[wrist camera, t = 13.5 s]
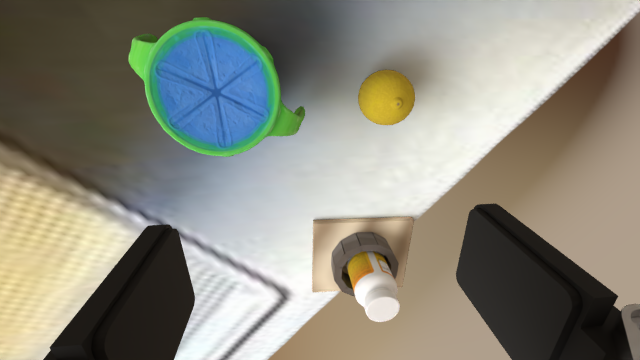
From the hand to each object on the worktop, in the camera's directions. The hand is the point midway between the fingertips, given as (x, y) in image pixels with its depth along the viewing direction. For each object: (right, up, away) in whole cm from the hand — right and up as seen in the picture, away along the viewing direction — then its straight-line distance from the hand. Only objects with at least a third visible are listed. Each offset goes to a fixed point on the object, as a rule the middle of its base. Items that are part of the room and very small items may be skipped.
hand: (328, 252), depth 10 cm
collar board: (+6, -9, +34) cm, 36 cm away
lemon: (+6, +13, +25) cm, 29 cm away
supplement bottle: (+6, -9, +33) cm, 35 cm away
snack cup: (-10, +13, +23) cm, 28 cm away
